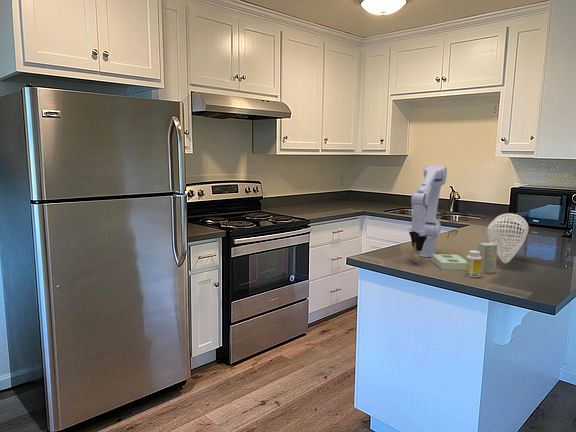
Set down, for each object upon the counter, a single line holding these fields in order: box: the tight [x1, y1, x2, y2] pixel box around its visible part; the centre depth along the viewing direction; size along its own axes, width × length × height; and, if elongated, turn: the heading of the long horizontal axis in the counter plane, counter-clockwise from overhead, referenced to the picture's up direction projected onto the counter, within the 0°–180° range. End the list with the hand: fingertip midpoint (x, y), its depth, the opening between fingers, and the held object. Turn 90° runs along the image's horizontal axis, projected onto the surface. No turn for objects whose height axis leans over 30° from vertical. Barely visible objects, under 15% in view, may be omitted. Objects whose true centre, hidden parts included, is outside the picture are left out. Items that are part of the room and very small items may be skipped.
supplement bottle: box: [465, 249, 482, 278], centre depth 174 cm, size 6×6×10 cm
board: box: [430, 253, 467, 271], centre depth 192 cm, size 16×12×3 cm
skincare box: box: [477, 242, 498, 274], centre depth 181 cm, size 6×4×12 cm
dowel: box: [412, 243, 421, 264], centre depth 195 cm, size 3×3×9 cm
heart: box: [486, 212, 530, 264], centre depth 195 cm, size 28×16×22 cm, turn 148°
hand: (417, 248), depth 195 cm, fingers open, 7 cm apart
